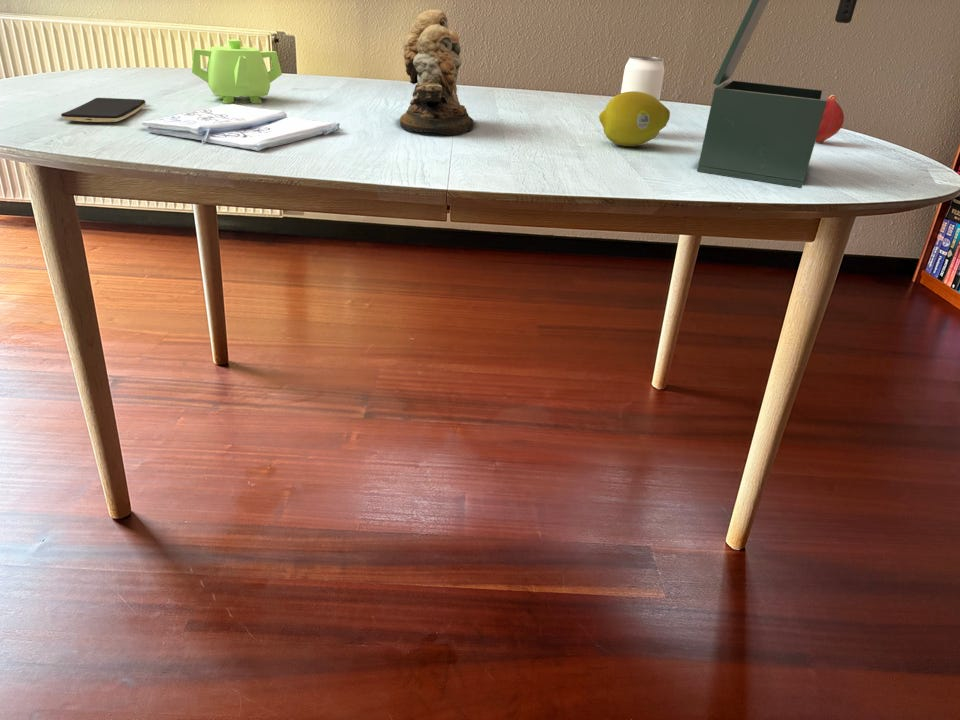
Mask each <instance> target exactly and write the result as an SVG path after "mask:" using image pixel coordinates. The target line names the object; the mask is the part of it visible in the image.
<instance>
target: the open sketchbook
mask: <svg viewBox="0 0 960 720" xmlns="http://www.w3.org/2000/svg"><path fill="white" fill-rule="evenodd" d="M141 125H142V126H144V127H145V128H146V129H145V130H146V131H147V132H148V133H151V134H156V135H157V134H158V135H163V136H171V137H175V138H185V139H190V140H197V141H201V144H202V145H203V144H206V143H211V144H213V145H214V144H216V145H221V146H227V147H231V148H232V147H235V148H241V149H247V150H253V151H258V152H259V151H261V150H264V149H267V148H273V147H278V146H282V145H286V144H287V145H288V144H290V143H294V142H298V141H302V140H306V139H308V138H312V137H316V136H320V135H324V136H326V135H328V134H330V133H334V132H338V134H339V133H340V125H341V124H340V122H337V121H319V120H318V121H314V120H310V119H306V118H299V117H294V116H287V113H286V112H285V111H283V110H275V109H273V110H272V109H266V108H257V107H250V106H245V105H238V104H235V103H229V104H225V105H224V104H223V105H217V106H213V107H210V108H205V109H201V110H194V111H188V112H184V113H179V114H174V115H170V116H167V117H161V118H157V119H148V120H144V121H142V122H141Z"/></svg>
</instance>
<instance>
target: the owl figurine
mask: <svg viewBox="0 0 960 720" xmlns="http://www.w3.org/2000/svg"><path fill="white" fill-rule="evenodd" d="M402 46H403V58H404V59H403V60H404V66H405V72H406V74H407V76H409V78H410V79H409V83H410V84H412V85H414V89H413V92H412V95H411V96H412V99H411V100H410V102H409V106H408V108H407V110H406V111H405V112H404V113H402V114H401V116H400V118H399V125H400V127H401V128H402V129H403V130H406V131H408V132H414V131H415V132H416V133H418V134H420V133H421V132H422V133H424V132H428V133H429V132H430V133H431V132H433V133H437V134H441V135H444V136H458V135H461V134H464V133H467V132H470V131H472V130H473V127H474V119H473V118H472V117H471V116H470V115H469V113H468V110H467V108H466V107H465V105H463V104H461V103H460V101H459V96H458V93H457V92H458V91H457V90H458V87H457V82H458V75H459V69H460V67H461V66H462V62H463V61H462V57H461V53H462V52H461V51H462V50H461V48H462V47H461V44H460V37H459V34H457V32H455V31H454V30H451V29H449V25H448V17H447V15H446V14H445V12H444V11H443V10H441V9H439V8H433V9H432V8H430V9H427V10H425V11H422V12H421V13H420V14H418V15H417V16H416V17H415V19H414V22H412V24H411V27H410V32H409V33H408V34H407V35H406V36H405V38H404V40H403V45H402Z"/></svg>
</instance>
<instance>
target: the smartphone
mask: <svg viewBox="0 0 960 720" xmlns="http://www.w3.org/2000/svg"><path fill="white" fill-rule="evenodd" d="M146 104H147V102H146V100H145V99H140V98H139V99H138V98H137V99H136V98H117V97H115V98H113V97H95V98H92V99H91V100H90V101H87V102H85V103H83V104H81V105H79V106H77V107H75V108H72V109H70V110H67V111H64V112H62V113H61V114H60V116H61V119H62V120H66V121H73V122H83V123H113V122H120V121H122V120H124V119H127V118H129V117H131V116H133V115H134V114H136V113H137V112H138V111H141V109H142V108H144V107H145V106H146Z"/></svg>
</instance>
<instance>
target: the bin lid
mask: <svg viewBox="0 0 960 720" xmlns="http://www.w3.org/2000/svg"><path fill="white" fill-rule="evenodd" d="M769 1H770V0H751V1H750V3H749V6H748V8H747V9H746V12H745V14H744V16H743V18H742V21H741V22H740V25H739V26H738V28H737V31H736V33H735V36H734V38H733V39H732V41H731V44H730V45H729V48H728V50H727V52H726V54H725V56H724V58H723V60H722V62H721V65H720V66H719V69H718V70H717V73H716V75H715V77H714V79H713V81H712V84H713V85H716V86H719V85H721V84H722V83H724V82H725V81H727V80H730V79H731V78H732V77H733V75H734V73H735V71H736V69H737V67H738V65H739V63H740V61H741V58H742V56H743V54H744V52H745V51H746V48H747V46H748V44H749V42H750V40H751V38H752V36H753V34H754V32H755V30H756V28H757V25H758V24H759V21H760V19H761V17H762V15H763V13H764V11H765V9H766V7H767V5H768V3H769Z"/></svg>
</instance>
